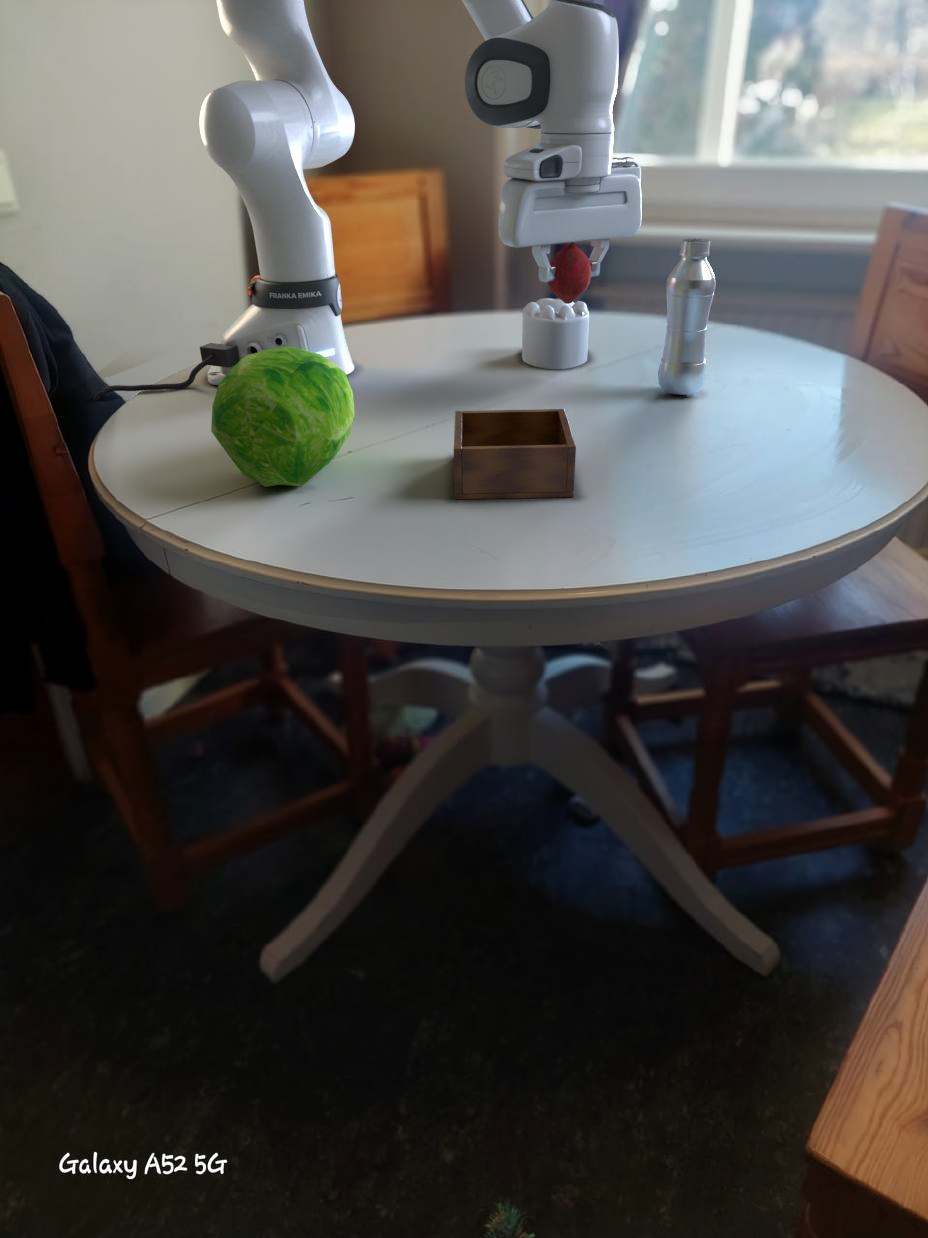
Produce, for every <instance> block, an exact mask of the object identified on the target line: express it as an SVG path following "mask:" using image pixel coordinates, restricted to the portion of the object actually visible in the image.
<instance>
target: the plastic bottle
mask: <svg viewBox="0 0 928 1238" xmlns="http://www.w3.org/2000/svg"><path fill="white" fill-rule="evenodd" d="M710 246H711V240H710V239H708V238H699V237H692V238H691V237H690V238H684V239H683V238H682V239H681V242H680V250H679V253H678V255H679V256H680V259H679V261H678V262H677V263H676V264H675V266H674V267H673V268H672V270H671V271H670V272H669V274H668V276H667V279H666V282H665V284H666V285H665V290H666V292H665V293H666V309H667V310H666V328H665V329H666V332H665V333H666V334H665V340H664V343H663V351H662V357H661V359H660V363H659V366H658V371H657V379H658V386H659V388H660V389H661V390H662V391H663V392H665V393H668V394H673V395H679V396H680V395H683V396H684V395H694V394H697V393H699V392H700V391H701V390H702V389H703V387H704V386H705V385H704V384H705V381H706V377H707V366H706V365H707V364H706V334H707V329H708V328H707V325H708V323H709V318H710V317H709V316H710V311H711V307H712V304H713V299H714V295H715V291H716V286H717V281H716V277H715V274H714V272H713V269H712V267H711V265H710V263H709V261H708V258H707V257H709V256H710V253H711V252H710V248H711V247H710Z"/></svg>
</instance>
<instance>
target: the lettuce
mask: <svg viewBox="0 0 928 1238" xmlns="http://www.w3.org/2000/svg"><path fill="white" fill-rule="evenodd" d="M354 401H355V400H354V392H353V389H352V387H351V385H350V382H349V379H348V376H347V375H346V373H345V372H344V371H343V370H342V369H340V368H339V367H338V366H336V365H335V364H334V363H332V362H331V361H330V360H328V359H327V358H325V357H324V356H323V355H321V354H318V353H314V352H310V351H307V350H303V349H299V348H295V347H283V348H276V349H269V350H263V351H261V352H258V353H254V354H250V355H247V356H245V357H244V358H242V359H241V360H240V361H239V362H238V363H237V364H236V365H235V366H234V367H233V368H232V369H231V370H230V372H229V373H228V374H227V375H226V376H225V377H224V378H223V380H222V381H221V382H220V383H219V385H217V388H216V393H215V396H214V399H213V403H212V406H211V407H212V408H211V428H210V432H211V434H212V435H213V436H214V437H215V439H216V440H217V441H218V444H219V445H221V447H222V448H223V450H224V451H225V453H226V454H227V456H228V457H229V458H230V459H231V460H232V462H233V463H234V464H235V466H236V467H237V468H238V470H239V471H240V472H241V474H242V475H243V476H244V477H246V478H249V479H250V480H252V481H254V482H256V483H257V484H259V485H261V486H263V487H265V488H266V487H272V486H286V487H287V486H289V487H303V486H305V484H306V483H307V482H308V481H310V480H311V479H312V478H313V477H314V476H316V475H317V473H319V472H320V471H321V470H322V469H324V468H325V467H326V466H327V465H329V464H330V463H331V462H332V461H333V459H335V457H336V456H337V454H338V453H339V451H340V450H341V448H342V447H343V446H344V444H345V442H347V440H348V438H349V436H350V434H351V430H352V425H353V422H354V418H355V413H356V412H355V403H354Z"/></svg>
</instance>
